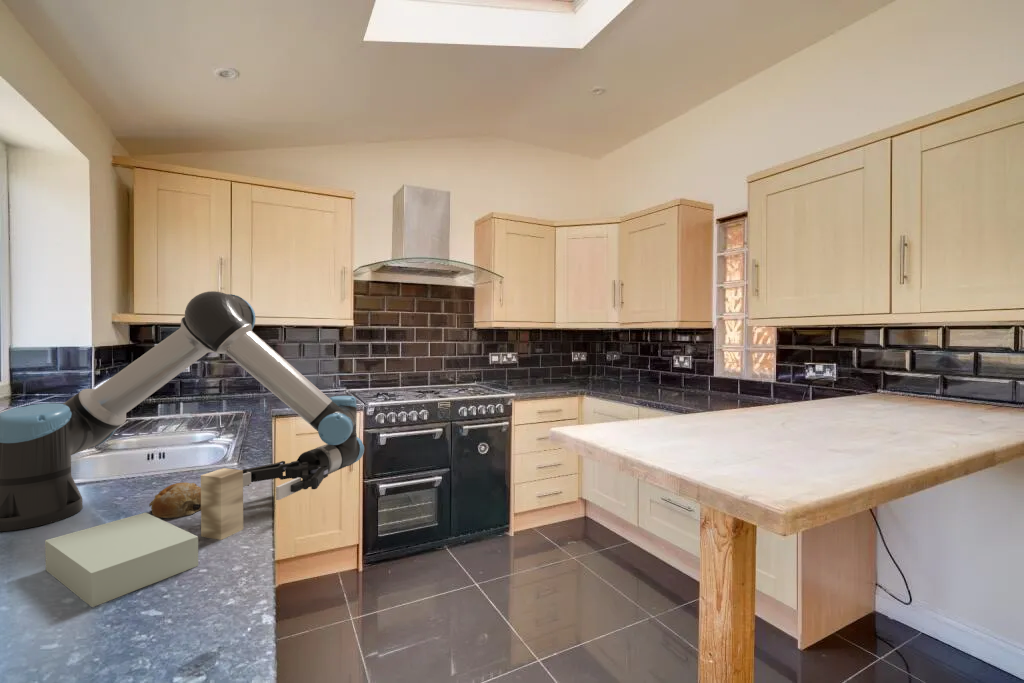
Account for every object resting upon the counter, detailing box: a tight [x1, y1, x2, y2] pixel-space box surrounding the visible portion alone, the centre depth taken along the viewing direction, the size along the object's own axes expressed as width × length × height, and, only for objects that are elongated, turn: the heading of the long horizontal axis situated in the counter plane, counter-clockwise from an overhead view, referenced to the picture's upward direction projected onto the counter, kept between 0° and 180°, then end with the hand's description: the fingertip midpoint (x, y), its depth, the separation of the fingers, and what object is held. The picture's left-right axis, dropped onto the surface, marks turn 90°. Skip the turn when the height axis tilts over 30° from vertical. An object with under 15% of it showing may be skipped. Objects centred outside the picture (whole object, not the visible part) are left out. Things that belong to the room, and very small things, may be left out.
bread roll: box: [148, 482, 201, 520], centre depth 103 cm, size 10×10×8 cm
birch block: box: [200, 467, 244, 541], centre depth 92 cm, size 5×5×12 cm
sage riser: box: [44, 512, 199, 608], centre depth 78 cm, size 20×14×5 cm
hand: (250, 490), depth 97 cm, fingers open, 13 cm apart
